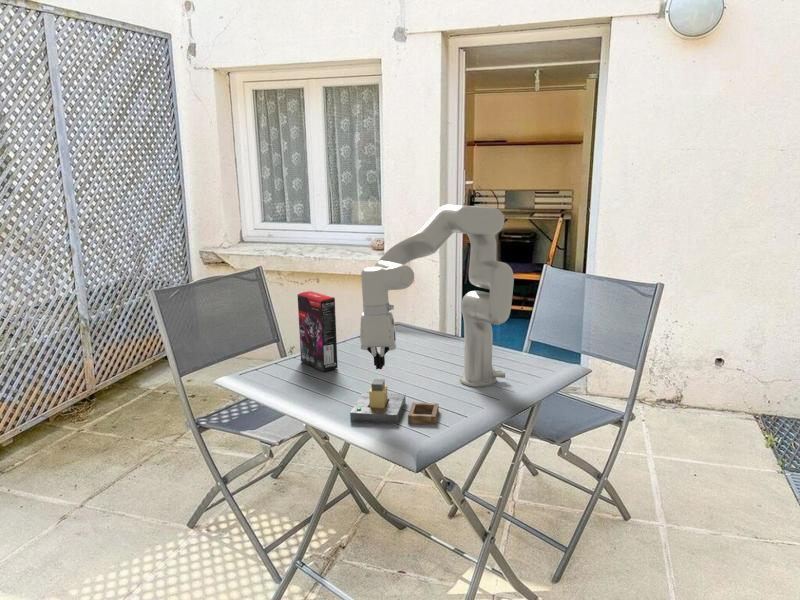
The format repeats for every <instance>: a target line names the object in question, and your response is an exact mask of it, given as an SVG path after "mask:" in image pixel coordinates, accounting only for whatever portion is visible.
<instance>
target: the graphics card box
mask: <svg viewBox="0 0 800 600" xmlns="http://www.w3.org/2000/svg"><path fill="white" fill-rule="evenodd" d="M297 310H298V326H299V327H298V329H299V331H298V333H299V347H300V351H299V352H300V362H301V363H304V364H306V365H308V366H311V367H313V368H315V369H317V370H320V371H322V372H327V371H332V370H335V369H338V349H337V348H338V347H337V341H338V340H337V322H336V321H337V320H336V299H335V297H334V296H328V295H325V294H322V293H319V292H316V291H313V290H308V291H304V292H300V293H298V294H297Z"/></svg>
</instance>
